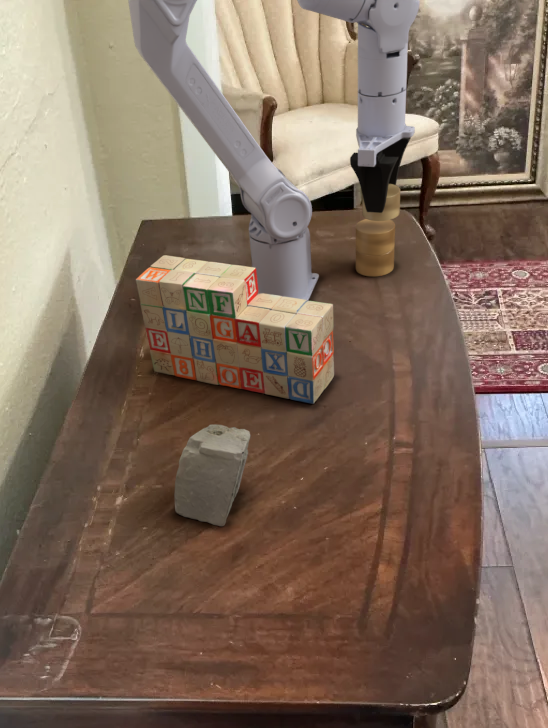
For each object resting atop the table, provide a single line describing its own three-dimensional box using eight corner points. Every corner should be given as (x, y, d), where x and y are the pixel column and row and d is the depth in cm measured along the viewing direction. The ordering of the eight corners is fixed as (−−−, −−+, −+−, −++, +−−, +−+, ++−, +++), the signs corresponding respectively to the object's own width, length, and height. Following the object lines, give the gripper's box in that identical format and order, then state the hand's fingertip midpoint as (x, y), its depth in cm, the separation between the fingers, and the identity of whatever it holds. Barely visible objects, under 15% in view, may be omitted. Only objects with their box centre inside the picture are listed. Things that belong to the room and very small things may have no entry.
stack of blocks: (336, 376, 100) (333, 277, 92) (314, 406, 96) (309, 305, 88) (178, 346, 108) (162, 252, 100) (152, 372, 104) (133, 277, 96)
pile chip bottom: (359, 258, 121) (359, 237, 119) (396, 260, 120) (397, 239, 118) (352, 275, 118) (352, 254, 116) (390, 277, 116) (391, 256, 114)
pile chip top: (359, 237, 119) (359, 216, 117) (397, 239, 118) (397, 217, 116) (352, 254, 116) (352, 233, 114) (391, 256, 114) (391, 234, 112)
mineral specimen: (257, 527, 81) (231, 461, 76) (177, 528, 85) (147, 465, 80) (278, 476, 86) (255, 411, 81) (201, 479, 90) (174, 417, 85)
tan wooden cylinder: (367, 204, 115) (367, 182, 113) (403, 207, 113) (404, 184, 111) (358, 220, 112) (358, 197, 110) (394, 222, 110) (395, 199, 108)
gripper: (401, 110, 96) (397, 228, 106) (428, 70, 106) (422, 182, 115) (340, 109, 99) (341, 225, 108) (372, 70, 108) (371, 180, 117)
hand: (380, 203), depth 112 cm, fingers closed on tan wooden cylinder, 5 cm apart
